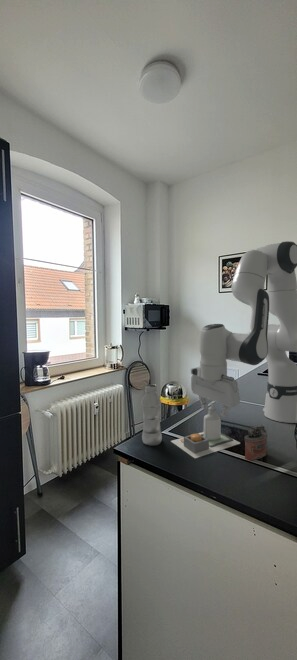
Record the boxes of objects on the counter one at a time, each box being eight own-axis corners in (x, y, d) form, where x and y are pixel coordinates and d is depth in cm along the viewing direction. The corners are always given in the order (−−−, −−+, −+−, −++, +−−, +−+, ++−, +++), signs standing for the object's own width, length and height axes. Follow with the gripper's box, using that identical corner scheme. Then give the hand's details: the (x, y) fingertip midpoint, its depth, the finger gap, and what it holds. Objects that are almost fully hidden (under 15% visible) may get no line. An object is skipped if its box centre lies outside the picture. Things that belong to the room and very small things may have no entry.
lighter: (250, 466, 78) (250, 431, 77) (241, 460, 81) (241, 427, 80) (269, 459, 81) (270, 426, 81) (260, 454, 84) (260, 422, 84)
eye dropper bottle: (220, 442, 90) (220, 406, 89) (203, 440, 91) (203, 405, 91) (220, 436, 94) (220, 402, 93) (204, 434, 96) (204, 401, 95)
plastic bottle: (160, 450, 88) (159, 388, 87) (139, 448, 89) (138, 388, 88) (163, 441, 94) (162, 384, 93) (144, 439, 95) (143, 383, 94)
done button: (197, 438, 89) (196, 432, 89) (203, 442, 86) (203, 436, 86) (188, 441, 87) (188, 435, 87) (195, 445, 84) (195, 439, 84)
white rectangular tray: (213, 432, 100) (213, 421, 100) (240, 446, 89) (240, 434, 89) (170, 444, 91) (170, 432, 91) (194, 462, 80) (194, 448, 80)
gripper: (244, 376, 84) (244, 420, 85) (201, 366, 102) (201, 403, 103) (229, 379, 81) (229, 425, 82) (187, 368, 99) (188, 406, 100)
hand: (213, 412), depth 92 cm, fingers open, 8 cm apart
